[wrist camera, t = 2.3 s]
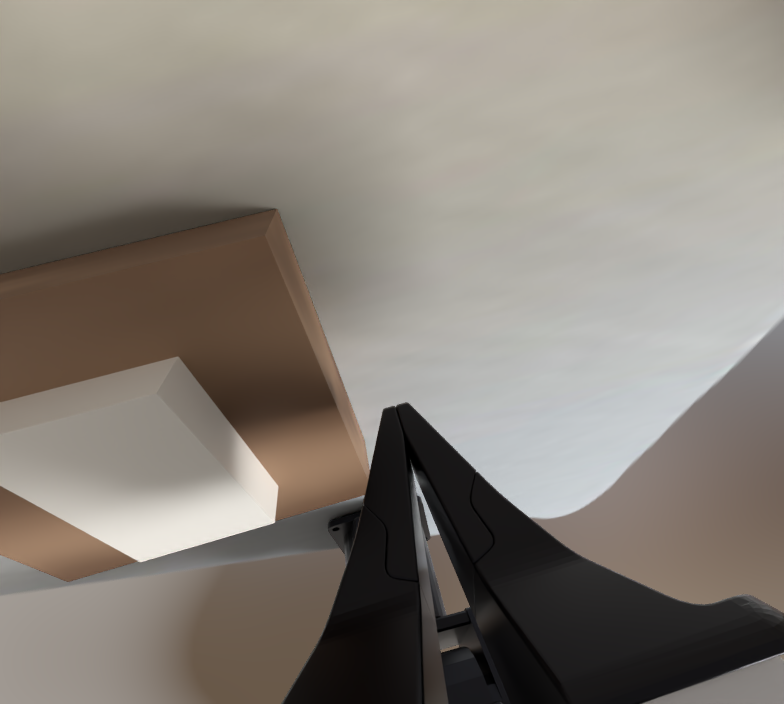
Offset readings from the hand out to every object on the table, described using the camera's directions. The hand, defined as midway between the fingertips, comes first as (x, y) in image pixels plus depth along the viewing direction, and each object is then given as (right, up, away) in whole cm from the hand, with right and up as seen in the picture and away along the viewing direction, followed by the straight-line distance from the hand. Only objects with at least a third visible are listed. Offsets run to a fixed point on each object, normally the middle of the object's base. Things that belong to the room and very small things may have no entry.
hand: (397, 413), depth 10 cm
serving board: (-10, 0, +3) cm, 10 cm away
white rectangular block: (-8, -1, 0) cm, 8 cm away
